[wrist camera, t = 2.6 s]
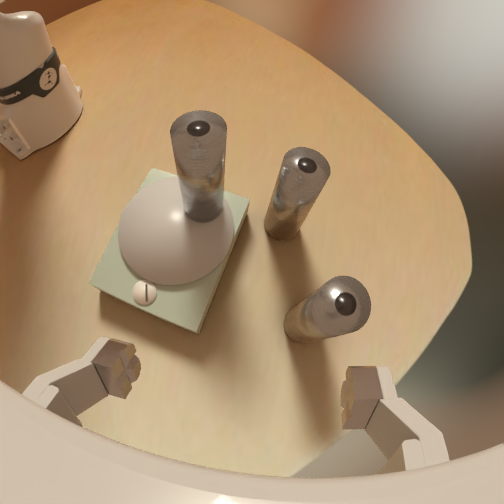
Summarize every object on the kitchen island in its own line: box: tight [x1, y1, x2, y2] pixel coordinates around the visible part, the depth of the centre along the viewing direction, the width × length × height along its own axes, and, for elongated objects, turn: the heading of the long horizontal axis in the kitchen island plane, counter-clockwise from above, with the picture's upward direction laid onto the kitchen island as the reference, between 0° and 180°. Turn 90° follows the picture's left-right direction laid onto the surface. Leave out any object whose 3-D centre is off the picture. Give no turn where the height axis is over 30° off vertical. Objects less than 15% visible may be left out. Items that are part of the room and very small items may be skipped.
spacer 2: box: [264, 147, 330, 240], centre depth 30 cm, size 4×4×12 cm
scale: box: [89, 168, 250, 335], centre depth 32 cm, size 13×16×4 cm
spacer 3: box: [284, 276, 371, 344], centre depth 26 cm, size 4×4×12 cm
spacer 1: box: [170, 111, 227, 223], centre depth 26 cm, size 4×4×12 cm
